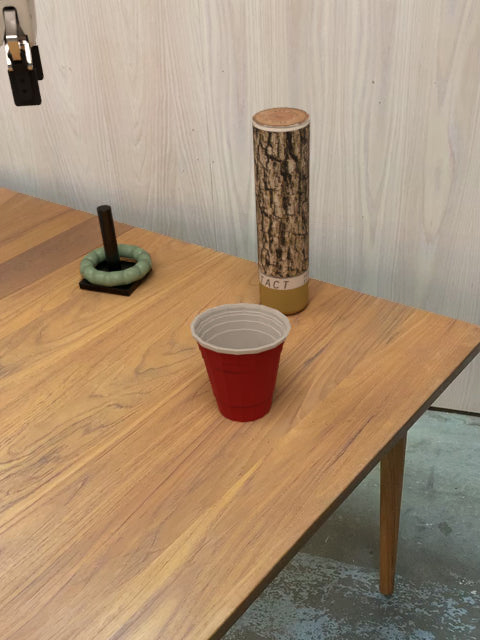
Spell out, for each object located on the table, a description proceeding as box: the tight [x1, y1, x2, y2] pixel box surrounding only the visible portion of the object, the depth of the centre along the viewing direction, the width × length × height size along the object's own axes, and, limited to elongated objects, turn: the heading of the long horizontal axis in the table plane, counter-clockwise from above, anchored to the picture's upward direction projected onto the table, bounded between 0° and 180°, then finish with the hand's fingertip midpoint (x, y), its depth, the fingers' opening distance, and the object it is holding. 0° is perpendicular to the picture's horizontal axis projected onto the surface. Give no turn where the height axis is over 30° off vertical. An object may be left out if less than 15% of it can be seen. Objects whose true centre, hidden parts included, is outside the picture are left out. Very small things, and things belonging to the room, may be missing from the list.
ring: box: [79, 243, 153, 287], centre depth 114 cm, size 10×10×2 cm
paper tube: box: [251, 106, 311, 316], centre depth 100 cm, size 7×7×25 cm
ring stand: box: [78, 204, 153, 297], centre depth 111 cm, size 8×8×11 cm
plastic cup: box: [189, 302, 292, 423], centre depth 87 cm, size 11×11×12 cm
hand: (30, 92), depth 98 cm, fingers open, 9 cm apart
